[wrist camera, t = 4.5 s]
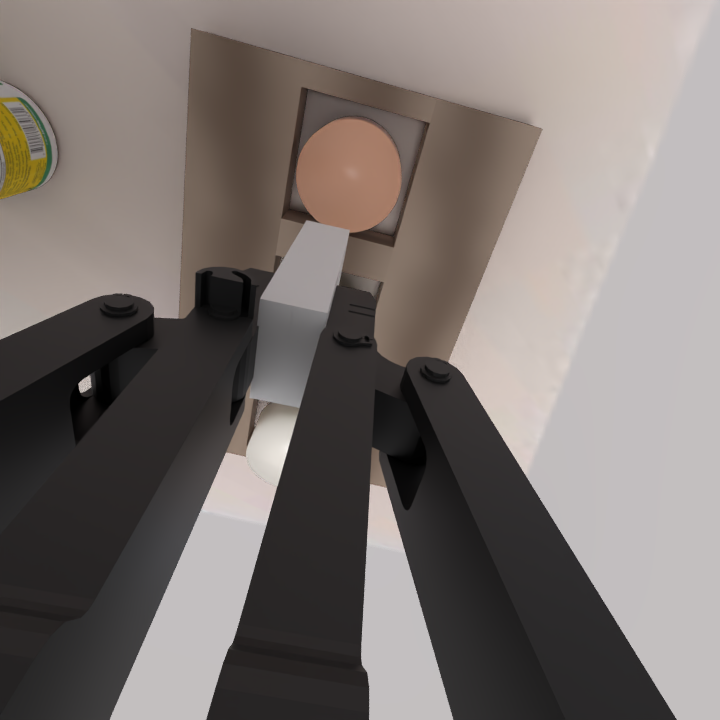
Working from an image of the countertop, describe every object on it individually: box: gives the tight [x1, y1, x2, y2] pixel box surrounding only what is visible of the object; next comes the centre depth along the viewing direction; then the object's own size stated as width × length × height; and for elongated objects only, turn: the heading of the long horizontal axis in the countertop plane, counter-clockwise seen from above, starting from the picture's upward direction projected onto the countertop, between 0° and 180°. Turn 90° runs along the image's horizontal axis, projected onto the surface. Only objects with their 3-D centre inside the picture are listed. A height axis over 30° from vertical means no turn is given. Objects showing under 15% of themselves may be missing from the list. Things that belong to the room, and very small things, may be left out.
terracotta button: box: [296, 116, 402, 233], centre depth 22 cm, size 5×5×3 cm
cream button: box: [246, 402, 299, 486], centre depth 29 cm, size 5×5×3 cm
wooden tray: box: [179, 28, 542, 488], centre depth 27 cm, size 16×24×2 cm, turn 166°
